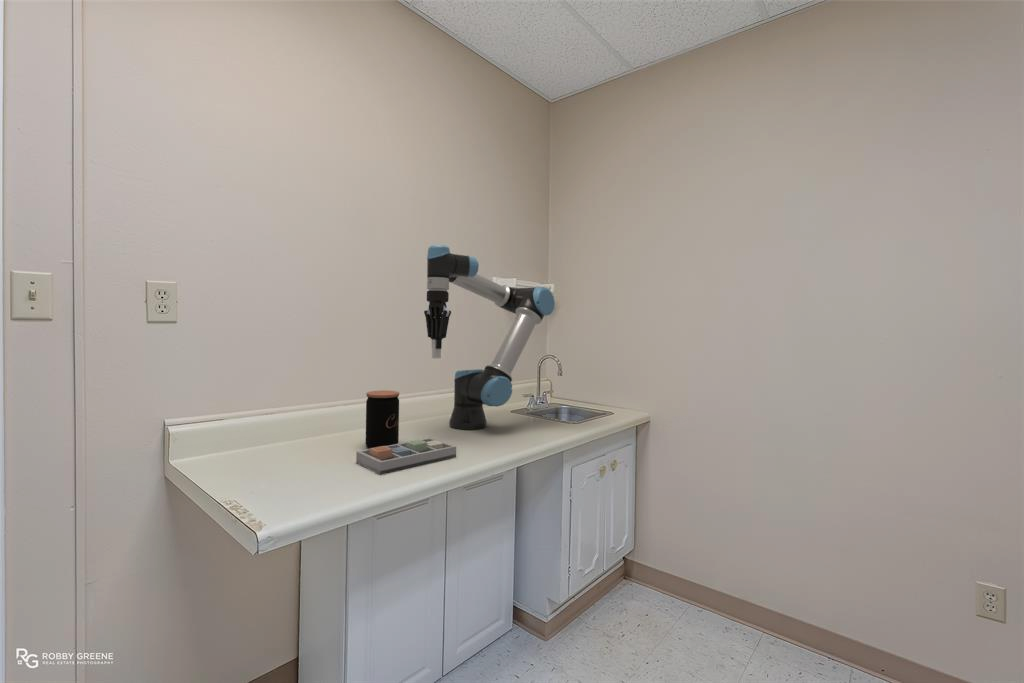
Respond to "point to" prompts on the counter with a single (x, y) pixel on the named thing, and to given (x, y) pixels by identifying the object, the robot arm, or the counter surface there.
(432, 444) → the key ivory
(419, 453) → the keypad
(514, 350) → the robot arm
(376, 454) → the key terracotta
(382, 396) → the coffee jar
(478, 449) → the counter surface
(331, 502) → the counter surface
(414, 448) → the key sage
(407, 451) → the key slate
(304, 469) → the counter surface
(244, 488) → the counter surface
